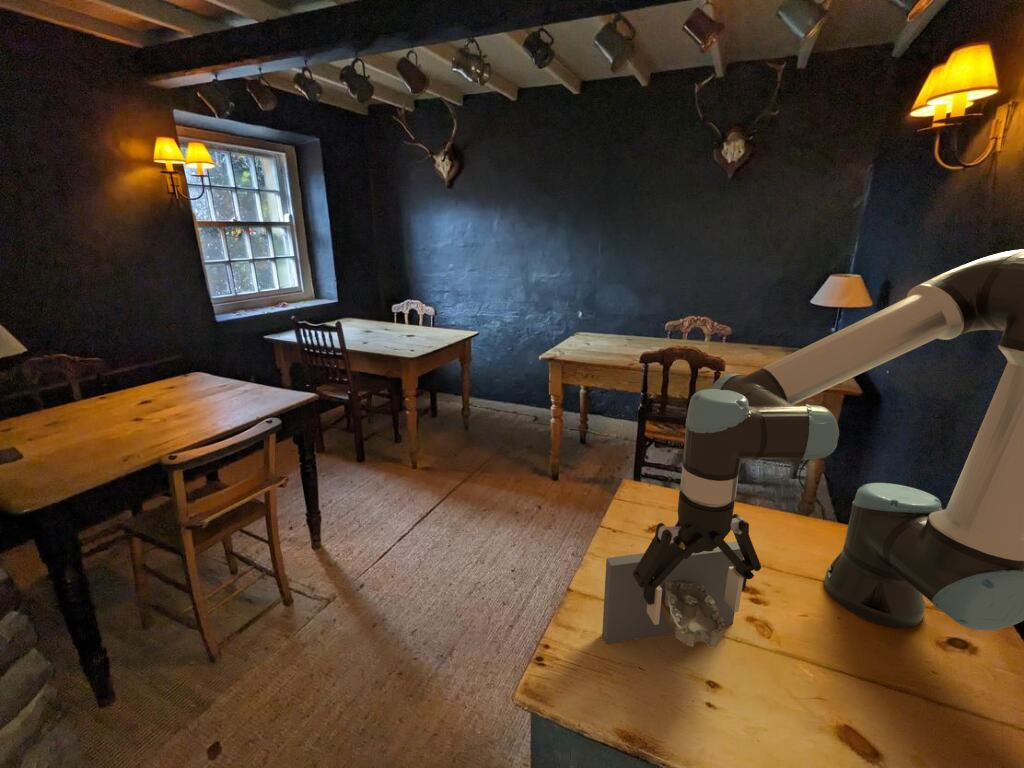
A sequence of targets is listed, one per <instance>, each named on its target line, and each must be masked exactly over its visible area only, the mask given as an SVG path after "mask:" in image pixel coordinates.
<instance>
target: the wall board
mask: <svg viewBox="0 0 1024 768" xmlns="http://www.w3.org/2000/svg"><path fill="white" fill-rule="evenodd" d="M726 543H727V544H728V545H729V547H730V548H731V549H732V550H733V552H734V553H735V554H736V555H737V556H738V557H739V558H740V560H741V561H742V560H744V557H743V555H742V552H741V550H740V548H739V545H738V543H737V540H736V541H729V542H726ZM683 549H685V548H683ZM644 553H645V552H642V553H635V554H627V555H618V556H611V557H606V561H605V563H606V564H605V579H604V598H603V617H602V631H601V632H602V634H601V635H602V637H603V639H604V641H605V644H606V645H607V644H614V643H619V642H621V643H622V642H625V641H633V640H638V639H644V638H653V637H657V636H664V635H669V634H670V635H671V634H675V629H676V623H673V622H671V621H670V607H669V606H666V604H665V595H666V590H665V581H666V582H677V581H679V582H685V583H688V584H690V583H694V585H695V586H700V585H704V587H705V588H706V591H707V593H708V594H709V595H710V597H712V599H713V600H714V601H715V604H716V607H717V609H718V610H719V613H720V614H721V615H722V617H723V620H724V622H725V625H727V626H728V625H733V624H734V619H735V613H736V612H734V611H733V610H732V609H731V608H730V607H729V605H728V604H727V603H726V602H725V601H724V596H725V589H726V582H727V576H728V569H729V567H732V566H733V567H734V568H735V566H734V564H733V563H732V562H731V561H730V560H729V559H728V558H727V556H726V555H725V554H724V553H723V552H722V551H721V550H720V548H719V547H717V548H715V549H713V551H710V552H707V551H703V552H700V553H695V554H694V553H692V554H691V556H690V557H689V558H688V559H683V560H682V561H681V562H680V563H679V564H678V566H677V567H676V568H675V569H674V570H673V571H672V572H671V573H670V574H669V575H668V576H667V577H666V579H665V580H664V581H663V582H662V583H661V584H660V587H661V588H662V597H661V608H660V618H659V624H656V625H654V623H653V622H652V620H651V618H650V617H649V615H648V613H647V602H646V600H645V599H644V596H643V593H644V588H641V587H640V586H639V584H638V583H637V581H636V579H635V578H634V576H633V572H634V570H635V569H636V567H637V565H638V564H639V562H640V560H641V559H642V557H643V555H644ZM698 606H699V607H701V606H700V605H699V603H698ZM701 609H702V607H701ZM680 642H681V644H682V645H686V644H685V643H684V642H682V641H680ZM698 642H700V641H696V642H695V643H698Z"/></svg>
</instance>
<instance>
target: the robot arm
mask: <svg viewBox="0 0 1024 768" xmlns="http://www.w3.org/2000/svg"><path fill="white" fill-rule="evenodd" d="M906 295H907V296H906V297H905V298H903V299H901V300H899V301H898V302H896V303H893V304H891V305H889V306H888V307H884V309H881V310H879V311H877V312H875V313H873V314H870V315H869V316H867V317H865V318H863V319H860V320H858V321H856V322H855V323H853V324H850V325H847V326H846V327H844V328H842V329H840V330H838V331H836V332H834V333H832V334H830V335H827V336H825V337H823V338H821V339H819V340H817V341H815V342H813V343H811V344H809V345H807V346H805V347H802V348H801V349H798V350H797V351H794V352H792V353H790V354H788V355H786V356H784V357H781V358H780V359H778V360H776V361H774V362H771V363H769V364H768V365H765V366H763V367H762V368H758V369H757V370H755V371H752V372H751V373H749V374H747V375H745V374H741V373H733V372H732V373H728V374H727V373H726V374H724V375H721V376H720V377H718V379H717V380H716V381H715V382H714V383H713V384H712V387H711V388H705V389H700V390H698V391H696V392H695V393H693V395H692V396H691V397H690V400H689V405H688V408H687V413H686V414H687V415H686V419H685V424H684V425H685V435H684V447H683V458H682V468H681V477H680V485H679V486H680V487H679V488H680V490H679V492H678V493H679V494H678V503H677V517H678V518H677V522H676V523H675V526H666V525H665V524H664V523H663V522H659V523H658V524H657V525H656V529H655V533H654V536H653V538H652V540H651V542H650V543H649V545H648V547H647V548H646V550H645V551H644V552H643V553H644V555H643V557H642V559H641V560H640V562H639V564H638V565H637V567H636V569H635V570H634V572H633V576H634V578H635V579H636V581H637V583H638V584H639V586H640V587H641V588H644V593H643V596H644V599H645V600H646V602H647V613H648V615H649V617H650V618H651V620H652V622H653V623H654V625H656V624H659V618H660V608H661V597H662V588H661V587H660V584H661V583H662V582H663V581H664V580H665V579H666V577H667V576H668V575H669V574H670V573H671V572H672V571H673V570H674V569H675V568H676V567H677V566H678V564H679V563H680V562H681V561H682V560H683V559H688V558H689V557H690V556H691V554H692V553H694V554H695V553H700V552H703V551H707V552H710V551H713V549H715V548H717V547H719V548H720V550H721V551H722V552H723V553H724V554H725V555H726V556H727V558H728V559H729V560H730V561H731V562H732V563H733V564H734V566H735V568H734V567H733V566H732V567H729V569H728V576H727V582H726V589H725V596H724V601H725V602H726V603H727V604H728V605H729V607H730V608H731V609H732V610H733V611H734V612H735V613H738V612H739V610H740V604H741V599H742V598H741V597H742V591H745V590H746V587H747V581H748V580H752V579H753V578H754V573H753V572H752V571H755V572H759V571H760V570H761V569H762V565H761V561H760V559H759V557H758V554H757V552H756V549H755V547H754V545H753V542H752V539H751V537H750V535H749V534H750V533H749V532H750V524H749V522H748V521H746V520H745V519H744V518H743V517H741V515H740V514H738V513H734V510H735V499H736V497H737V492H738V491H737V490H738V481H739V475H740V474H739V473H740V468H741V467H740V466H741V463H742V460H743V461H744V460H749V461H750V460H751V461H752V460H754V461H755V460H781V461H782V460H788V461H789V460H792V461H793V460H796V461H797V460H798V461H804V460H811V459H812V460H813V459H824V458H827V457H828V456H830V455H831V454H833V453H834V451H835V450H836V448H837V445H838V441H839V437H840V429H839V425H838V421H837V419H836V417H835V415H834V414H833V412H832V411H830V410H829V409H828V408H826V407H824V406H822V405H816V404H815V405H812V404H808V403H805V404H804V403H803V404H800V405H797V404H798V403H800V402H802V401H805V400H807V399H809V398H811V397H813V396H815V395H817V394H820V393H821V392H824V391H826V390H828V389H830V388H832V387H835V386H837V385H839V384H841V383H843V382H845V381H848V380H850V379H852V378H854V377H856V376H859V375H861V374H863V373H866V372H868V371H869V370H871V369H873V368H876V367H878V366H881V365H883V364H884V363H887V362H889V361H891V360H893V359H895V358H898V357H900V356H903V355H904V354H907V353H909V352H910V351H913V350H915V349H918V348H919V347H921V346H923V345H925V344H928V343H930V342H932V341H934V340H937V339H939V340H943V341H944V340H945V341H949V340H953V339H955V338H957V337H959V336H961V335H964V334H966V333H969V332H974V331H984V330H985V331H999V332H1003V333H1002V335H1001V338H1000V340H999V342H998V345H997V348H998V349H999V350H1000V352H1001V354H1002V355H1004V356H1005V358H1006V360H1007V363H1006V365H1005V368H1004V370H1003V373H1002V375H1001V377H1000V379H999V382H998V383H997V387H996V390H995V392H994V394H993V395H992V396H993V397H992V399H991V401H990V403H989V406H988V409H987V410H986V413H985V415H984V418H983V420H982V423H981V425H980V427H979V430H978V432H977V435H976V437H975V439H974V441H973V444H972V447H971V449H970V451H969V454H968V456H967V459H966V460H965V463H964V466H963V468H962V470H961V473H960V476H959V477H958V480H957V483H956V485H955V487H954V489H953V492H952V494H951V497H950V499H949V501H948V504H947V506H946V508H945V509H943V508H942V502H941V500H940V499H939V498H938V497H937V496H935V495H933V494H931V493H930V492H926V491H924V490H921V489H919V488H915V487H911V486H906V485H903V484H896V483H888V482H870V483H866V484H865V483H864V484H863V485H861V486H860V487H859V488H858V489H857V492H856V494H855V498H854V500H853V501H852V506H851V510H850V514H849V515H850V516H849V520H848V525H847V529H846V534H845V537H844V545H843V548H842V550H841V552H839V553H838V555H837V556H836V557H835V559H834V560H833V561H832V563H830V565H829V566H828V567H827V569H826V572H825V577H824V581H823V582H824V587H825V590H826V592H827V593H828V594H829V595H830V596H831V598H833V600H834V601H835V602H837V603H838V604H839V605H840V606H841V607H843V608H845V609H846V610H847V611H849V612H851V613H852V614H854V615H856V616H858V617H859V618H862V619H864V620H867V621H868V622H871V623H875V624H879V625H882V626H886V627H890V628H898V629H901V628H902V629H906V628H913V627H915V626H917V625H919V624H920V623H921V622H922V620H923V618H924V614H925V610H926V602H925V599H924V597H925V598H926V599H927V600H928V601H930V603H932V605H933V607H934V608H936V609H937V610H938V611H940V612H942V613H944V614H945V615H946V616H948V618H950V619H951V620H952V621H954V622H955V623H957V624H958V625H959V626H962V627H964V628H967V629H969V630H975V631H983V632H985V631H988V632H989V631H990V632H991V631H998V630H1002V629H1006V628H1010V627H1012V626H1014V625H1017V624H1019V623H1022V622H1023V621H1024V249H1023V248H1021V249H1014V250H1009V251H1003V252H999V253H995V254H992V255H988V256H985V257H982V258H979V259H976V260H973V261H971V262H968V263H966V264H965V263H964V264H962V265H960V266H957V267H955V268H952V269H950V270H948V271H946V272H943V273H940V274H938V275H936V276H934V277H931V278H930V279H928V280H926V281H924V282H921V283H920V284H918V285H915V286H914V287H912V288H910V290H909V291H908V293H907V294H906ZM731 531H732V533H733V536H734V537H735V540H736V541H737V543H738V545H739V548H740V550H741V552H742V555H743V560H742V561H741V560H740V558H739V557H738V556H737V555H736V554H735V553H734V552H733V550H732V549H731V548H730V547H729V545H728V544H727V542H726V541H725V538H727V536H728V535H729V533H730V532H731ZM681 542H682V543H683V544H684V545H685V546H686V548H685V549H683V548H682V547H681V546H680V544H681ZM670 544H671V545H670Z"/></svg>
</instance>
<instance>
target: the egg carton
mask: <svg viewBox="0 0 1024 768" xmlns="http://www.w3.org/2000/svg"><path fill="white" fill-rule="evenodd" d="M665 590H666V595H665V604H666V606H669V607H670V621H671V622H673V623H676V629H675V633H674V637H675V638H676V639H677V640H679V641H680V642H681V641H682V642H684V643H685V644H684V645H686V646H687V647H694V643H697V642H696V641H699V642H703V643H705V644H706V645H708V648H713V649H716V648H717V646H718V643H721V641H722V639H723V635H724V631H726V630H727V628H726V627H727V626H726V625H725V622H724V620H723V617H722V615H721V614H720V613H719V610H718V609H717V607H716V604H715V601H714V600H713V599H712V597H710V595H709V594H708V593H707V591H706V588H705V587H704V585H700V586H695V585H694V583H690V584H688V583H685V582H679V581H677V582H666V581H665ZM698 603H699V605H700V606H701V607H702V609H701V607H699V606H698Z"/></svg>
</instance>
